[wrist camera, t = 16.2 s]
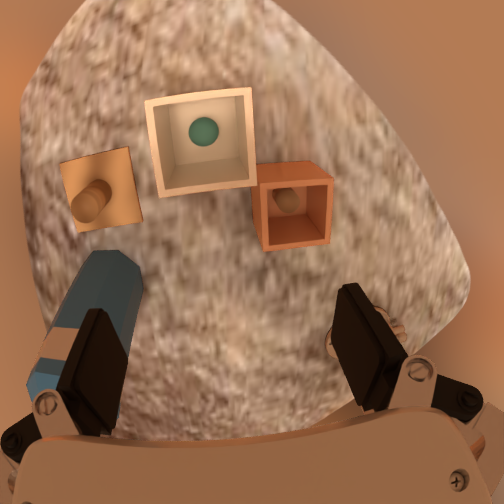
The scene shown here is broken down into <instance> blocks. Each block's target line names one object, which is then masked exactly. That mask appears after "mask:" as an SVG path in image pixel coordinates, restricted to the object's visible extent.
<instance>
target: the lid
mask: <svg viewBox="0 0 504 504" xmlns="http://www.w3.org/2000/svg"><path fill="white" fill-rule="evenodd" d="M59 165H60V169H61V174H62V178H63V182H64V186H65V190H66V194H67V197H68V201H69V205H70V208H71V212H72V215H73V218H74V222H75V225H76V228H77V231H78V232H84V231H90V230H95V229H101V228H107V227H113V226H119V225H126V224H132V223H138V222H143V217H142V213H141V208H140V204H139V199H138V194H137V189H136V184H135V179H134V174H133V169H132V163H131V157H130V152H129V146H128V147H124V148H119V149H114V150H110V151H106V152H101V153H97V154H93V155H89V156H85V157H82V158H78V159H74V160H71V161H67V162H64V163H60V164H59Z"/></svg>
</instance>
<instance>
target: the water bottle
mask: <svg viewBox="0 0 504 504" xmlns="http://www.w3.org/2000/svg"><path fill="white" fill-rule="evenodd" d="M142 293H143V284H142V278H141V272H140V267H139V266H138V265H136V264H135V263H134V262H133V261H131V260H130V259H129V258H128V257H126V256H125V255H124V254H122V253H121V252H120V251H119V250H104V251H93V252H92V253H91V255H90V256H89V257H88V259H87V260H86V261H85V263H84V264H83V266H82V267H81V269H80V270H79V272H78V274H77V276H76V277H75V279H74V281H73V283H72V285H71V286H70V288H69V290H68V292H67V294H66V296H65V298H64V300H63V302H62V304H61V306H60V308H59V310H58V312H57V314H56V316H55V318H54V320H53V322H52V324H51V326H50V328H49V330H48V333H47V335H46V337H45V339H44V341H43V344H42V346H41V348H40V351H39V353H38V356H37V358H36V360H35V363H34V365H33V368H32V371H31V373H30V376H29V378H28V381H27V384H26V386H27V389H28V392H29V395H30V398H31V401H32V402H33V400H34V398H35V396H36V395H37V394H38V393H39V392H41V391H42V390H45V389H54V390H56V387H57V383H58V381H59V378H60V375H61V372H62V370H63V367H64V365H65V362H66V359H67V357H68V354H69V352H70V350H71V347H72V345H73V342H74V340H75V338H76V335H77V333H78V331H79V328H80V326H81V324H82V322H83V319H84V317H85V315H86V313H87V311H88V309H90V308H102V309H103V310H104V311H106V312H107V313H108V315H109V317H110V319H111V322H112V324H113V326H114V328H115V331H116V333H117V335H118V337H119V339H120V341H121V344H122V346H123V348H124V350H125V352H126V354H127V357H128V356H129V351H130V346H131V341H132V336H133V332H134V327H135V322H136V318H137V314H138V309H139V305H140V301H141V297H142ZM122 391H123V388H122ZM121 397H122V393H121ZM120 404H121V398H120ZM120 404H119V409H118V415H117V419H118V418H119V411H120Z"/></svg>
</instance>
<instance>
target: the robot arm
mask: <svg viewBox="0 0 504 504" xmlns="http://www.w3.org/2000/svg"><path fill="white" fill-rule="evenodd" d="M404 331H405V328H404V326H403V325H400V326H397V327H395V328H393V327H391V326H390V318H389V316H388V314H387V313H386V312H385V311H384V310H383V309H381V308H379V307H374V306H373V305H372V303H371V302H370V300H369V299H368V298H367V296H366V295H365V293H364V292H363V290H362V289H361V287H360V286H359V284H358V283H350V284H344V285H343V286H342V288H340V289H339V290H338V295H337V301H336V308H335V314H334V320H333V325H332V328H331V330H330V331H329V333H328V335H327V337H326V341H325V346H326V349H327V352H328V353H329V355H330V356H332V357H333V358H336V359H339V362H340V364H341V367H342V369H343V371H344V374H345V376H346V378H347V381H348V383H349V386H350V388H351V391H352V393H353V395H354V398H355V400H356V403H357V405H358V406H361V408H362V410H363V412H364V415H363V416H359V417H355V418H351V419H347V420H343V421H338V422H334V423H329V424H325V425H321V426H316V427H311V428H306V429H300V430H295V431H289V432H283V433H276V434H269V435H262V436H253V437H244V438H233V439H220V440H201V441H150V440H131V439H117V438H106V437H100V434H104V435H111V432H112V429H114V428H115V426H116V421H117V415H118V409H119V404H120V398H121V393H122V388H123V384H124V379H125V374H126V370H127V365H128V357H127V354H126V352H125V350H124V348H123V346H122V344H121V341H120V339H119V337H118V335H117V333H116V331H115V328H114V326H113V324H112V322H111V319H110V317H109V315H108V313H107V312H106V311H104V310H103V309H102V308H90V309H88V311H87V313H86V315H85V317H84V319H83V322H82V324H81V326H80V328H79V331H78V333H77V335H76V338H75V340H74V342H73V345H72V347H71V350H70V352H69V354H68V357H67V359H66V362H65V365H64V367H63V370H62V372H61V375H60V378H59V381H58V383H57V387H56V390H54V389H45V390H42V391H41V392H39V393H38V394H37V395H36V396H35V398H34V400H33V402H32V411H33V412H32V413H31V414H29V415H28V416H26V417H25V418H23V419H22V420H20V421H19V422H17V423H15V424H14V425H12V426H11V427H9V428H8V429H7V430H6V431H5V432H4V433H3V435H2V437H1V443H0V445H1V449H0V504H493V503H492V500H491V496H492V494H493V492H494V491H495V489H496V487H497V485H498V484H499V482H500V480H501V478H502V476H503V474H504V412H502V411H501V410H499V409H498V408H496V407H495V406H493V405H492V404H490V403H489V402H488V403H487V404H485V403H483V397H482V394H481V393H480V391H479V390H478V389H477V388H475V387H473V386H471V385H468V384H465V383H462V382H459V381H456V380H453V379H450V378H447V377H444V376H442V375H439V374H437V368H436V366H435V364H434V363H433V361H432V360H430V359H429V358H427V357H425V356H422V355H412V356H410V357H408V355H407V353H406V352H405V350H404V348H403V347H402V345H401V344H400V343H401V342H404V341H406V340H407V335H406V333H405V332H404Z"/></svg>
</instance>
